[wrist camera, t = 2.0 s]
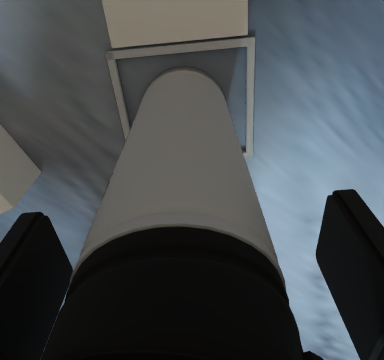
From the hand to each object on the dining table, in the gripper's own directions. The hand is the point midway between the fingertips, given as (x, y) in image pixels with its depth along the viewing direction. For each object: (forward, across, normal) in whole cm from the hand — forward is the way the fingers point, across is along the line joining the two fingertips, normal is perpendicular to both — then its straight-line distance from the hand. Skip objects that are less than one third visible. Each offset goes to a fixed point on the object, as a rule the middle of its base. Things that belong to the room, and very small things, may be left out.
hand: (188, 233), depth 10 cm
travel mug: (+15, 0, +1) cm, 15 cm away
